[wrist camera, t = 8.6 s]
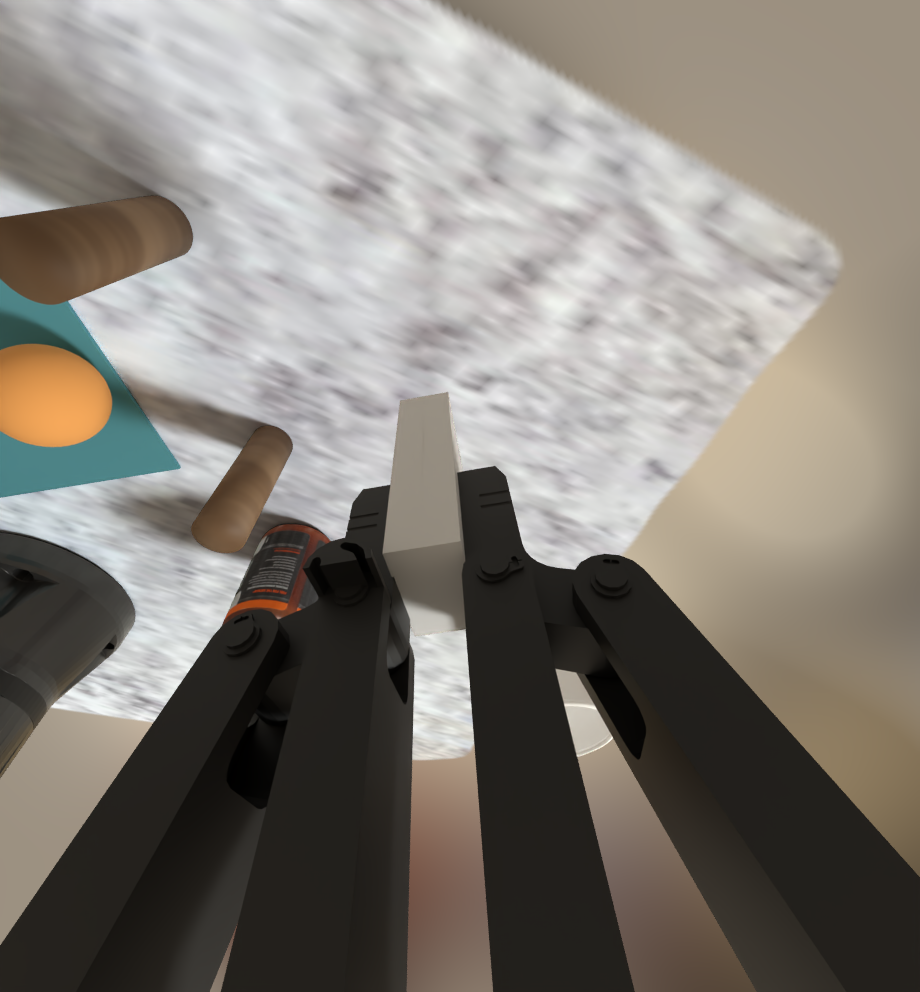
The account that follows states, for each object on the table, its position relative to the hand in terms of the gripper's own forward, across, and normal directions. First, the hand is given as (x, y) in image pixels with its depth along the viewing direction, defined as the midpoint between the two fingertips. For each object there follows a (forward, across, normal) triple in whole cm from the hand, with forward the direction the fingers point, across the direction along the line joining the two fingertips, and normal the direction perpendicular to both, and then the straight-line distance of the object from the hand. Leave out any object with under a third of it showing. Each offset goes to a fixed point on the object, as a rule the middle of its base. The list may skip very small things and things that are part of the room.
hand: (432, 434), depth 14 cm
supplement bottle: (+14, +14, +16) cm, 25 cm away
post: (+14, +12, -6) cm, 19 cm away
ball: (+11, +21, 0) cm, 24 cm away
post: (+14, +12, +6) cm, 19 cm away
